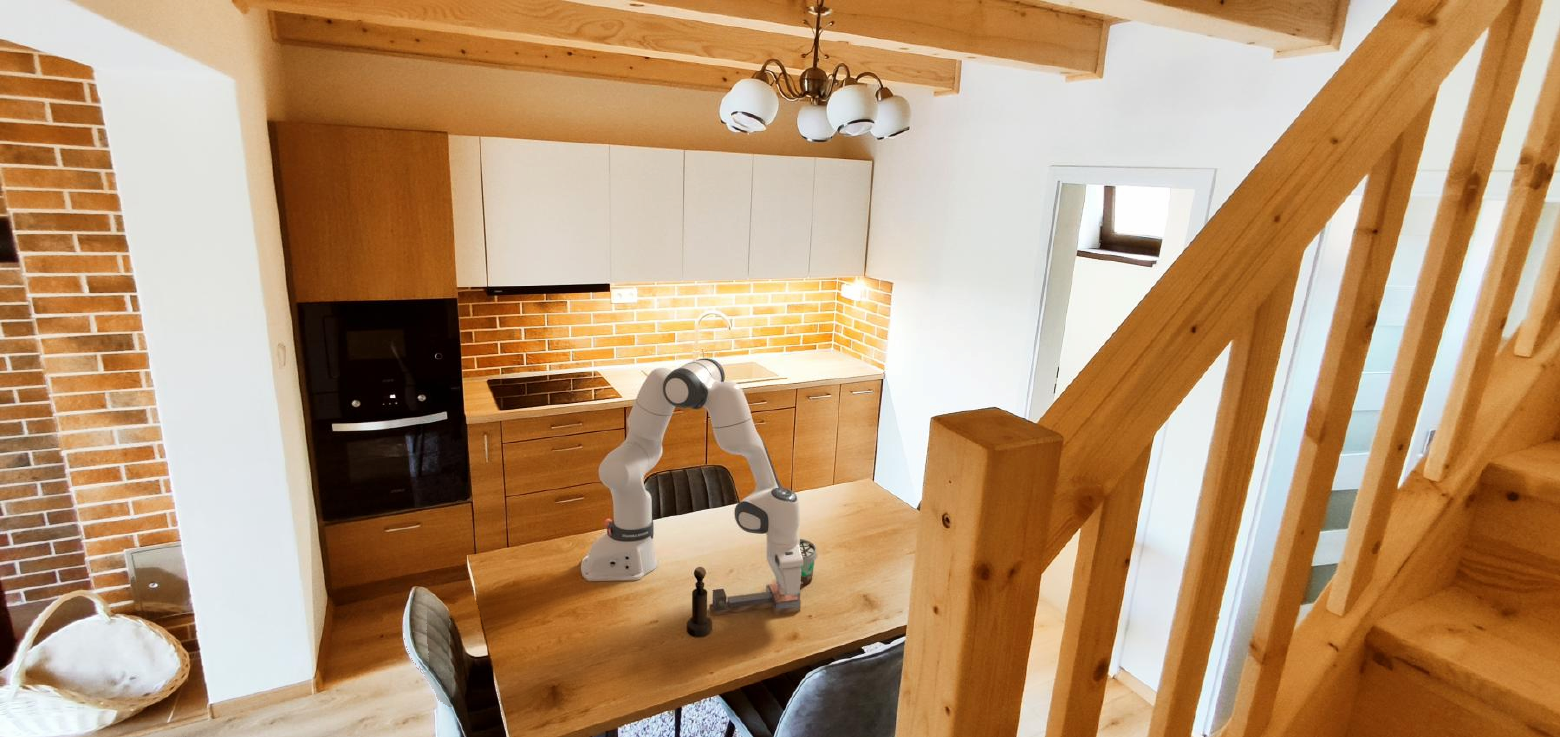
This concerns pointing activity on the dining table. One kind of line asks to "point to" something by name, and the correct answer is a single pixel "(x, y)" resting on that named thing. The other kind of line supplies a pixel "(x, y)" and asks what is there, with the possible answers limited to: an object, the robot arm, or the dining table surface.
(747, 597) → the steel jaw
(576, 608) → the dining table surface
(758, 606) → the walnut jaw
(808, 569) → the food container
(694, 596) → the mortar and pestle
